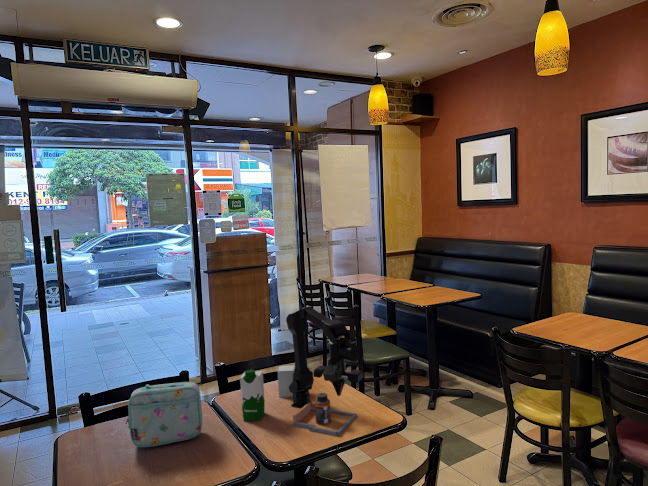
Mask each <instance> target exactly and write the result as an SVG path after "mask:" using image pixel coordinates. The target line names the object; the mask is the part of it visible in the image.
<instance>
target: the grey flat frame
mask: <svg viewBox="0 0 648 486" xmlns="http://www.w3.org/2000/svg"><path fill="white" fill-rule="evenodd" d="M310 412H315V407H312V402H311V403H307V404H306V405H305V406H304V407H302V408H300V409H299V410H298V411H296V412H295V413H294V414H293V415H292V425H293V427H298V428H304V429H308V431H310V432H313V433H318V434H324V435H329V436H334V437H340V436H341V434H342V433H343V432H344V431H345V430H346V429H347V427H348V426H349V425H350V424H351V423H352V422H353V421H354V419H356V417H357V416H358V414H357V413H354V412H348V411H343V410H336V409H332V408H330V412H331V414H337V415H342V416H348V417H349V416H350V417H349V418H348V420H346V422H344V423H343V424H342V425H341V427H340V428H339V429H338V430H332V429H327V428H321V427H317V426H316V425H315V424H310V423H305V422H301V421H302V419H304V418H305V417H306V416H307V415H308V414H309V413H310Z"/></svg>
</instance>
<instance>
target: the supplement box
mask: <svg viewBox="0 0 648 486" xmlns="http://www.w3.org/2000/svg"><path fill="white" fill-rule="evenodd" d="M277 369H278V370H277V383H278V385H277V386H278V398H290V397H291V398H293V393H291V392H290V391H289V386H290V384H291V383H292V382H293V373H294V371H295V369H296V368H295V365H281V366H280V365H279V366H278V368H277Z"/></svg>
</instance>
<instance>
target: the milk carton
mask: <svg viewBox="0 0 648 486" xmlns="http://www.w3.org/2000/svg"><path fill="white" fill-rule="evenodd" d="M239 382H240V394H241V395H240V396H241V397H240V398H241V411H242V419H243V421H244V422H260V421H262V419H263V416H265V415H264V414H265V402H266V401H265V388H264V387H265V385H264V373H263V370H255V369H252V368H251V369H247V370H245V371H244V372H243V373H242V375H241V376H240V377H239Z"/></svg>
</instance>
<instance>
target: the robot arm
mask: <svg viewBox="0 0 648 486" xmlns="http://www.w3.org/2000/svg"><path fill="white" fill-rule="evenodd" d="M285 321H286V324H287V329H288V331H289V332H290V333H291V335H292V336H291V337H292V344H293V354H294V355H293V356H294V363H295V364H294V367H295V368H294V369H295V371H294V373H293V382H292V383H291V384H290V386H289V391H290V392H291V393H293V397H292V401H293V403H292V404H291V407H293V408H300V409H301V408H302V407H304V406H305V405H306V404H307V403H311V404H312V401H311V394H310V390H312V388H313V385H314V381H315V379H314V378H322V377H323V380H324V381H325V382H327V381H328V382H330V383H331V384H332V386H333V389H334V390H335V393H336V395H337V397H340V396H341V395H342V393H343V389H344V387H345V384H346V382H347V381H348V382H349V383H359V382H360V381H361V380H362V379H363V378H364V372H363V371H362V370H361V369H359V370H358V369H352V370H350V371H347V370H348V369H347V368H348V367H347V366H346V360H347V361H351V362H357V361H358V360H359V359H360V357H361V354H362V351H361V349H360V347H359V346H358V345H357V342H356V341H353V339H352V337H351V334H350V332H349V330H348V328H347V326H346V324H345V323H344V322H342V321H340V320H338V319H330V318H329V317H327V316H325V315H324V314H322V313H321V312H319V311H317V310H316V309H314V308H313V307H312V306H310V305H307V306H305V307H301V308H300V309H299V310H297V311H295V312H292V313H289V314H288V315H287V316H286V320H285ZM308 321H309V322H311V324H313V325H315V326H317V327H318V328H320V329H321V330H322V332H323V335H324V336H326V338H327V339H326V340H325V344H326V343H327V344H328V346H329V347H328V349H329V350H328V351H329V353H328V354H329V359H328V360H327V365H326V366H325V365H319V366H317V367H316V368H314V369H313V371H312V370H310V369H309V367H308V360H307V352H306V351H307V347H306V340H305V339H306V338H305V331H306V329H307V327H308Z"/></svg>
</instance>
